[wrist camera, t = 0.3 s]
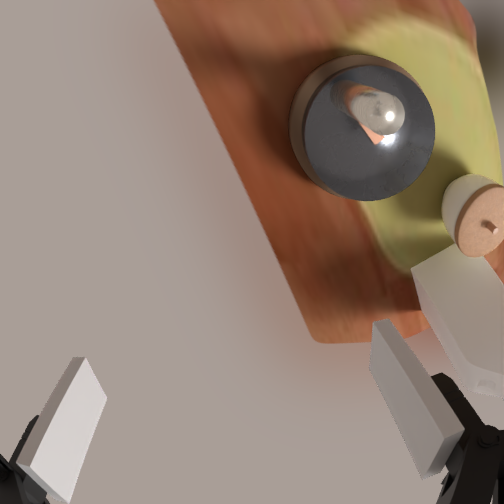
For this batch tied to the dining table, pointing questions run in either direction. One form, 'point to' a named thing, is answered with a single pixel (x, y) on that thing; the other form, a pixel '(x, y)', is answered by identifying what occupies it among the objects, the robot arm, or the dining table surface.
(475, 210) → the lidded jar
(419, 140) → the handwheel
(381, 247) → the dining table surface
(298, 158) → the wheel base
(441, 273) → the milk
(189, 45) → the dining table surface
